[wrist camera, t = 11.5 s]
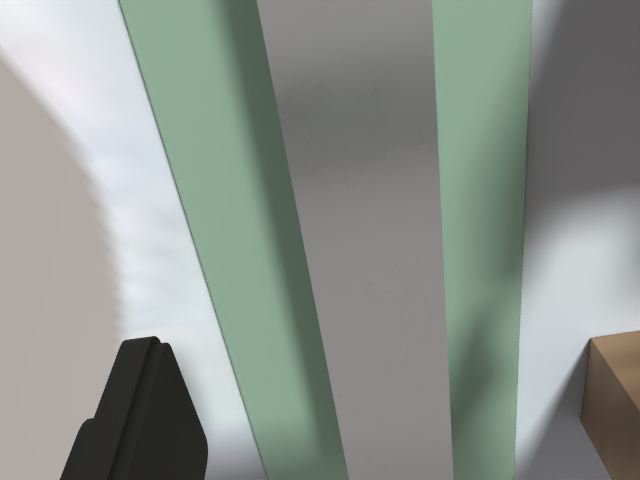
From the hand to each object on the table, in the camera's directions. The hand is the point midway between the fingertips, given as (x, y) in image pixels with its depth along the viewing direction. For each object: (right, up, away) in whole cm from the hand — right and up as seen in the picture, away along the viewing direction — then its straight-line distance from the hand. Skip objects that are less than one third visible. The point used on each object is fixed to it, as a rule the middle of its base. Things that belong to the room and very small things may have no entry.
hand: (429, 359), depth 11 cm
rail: (-1, +3, +5) cm, 6 cm away
